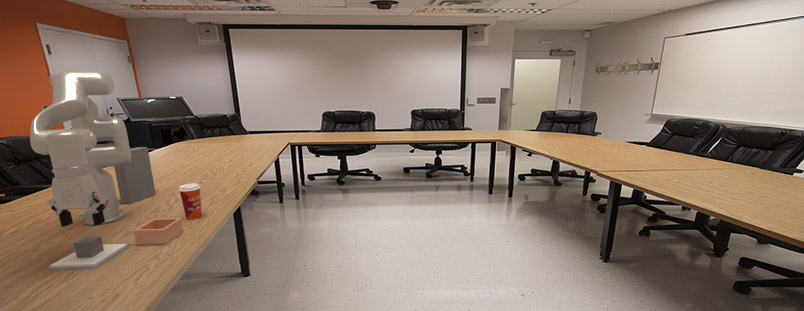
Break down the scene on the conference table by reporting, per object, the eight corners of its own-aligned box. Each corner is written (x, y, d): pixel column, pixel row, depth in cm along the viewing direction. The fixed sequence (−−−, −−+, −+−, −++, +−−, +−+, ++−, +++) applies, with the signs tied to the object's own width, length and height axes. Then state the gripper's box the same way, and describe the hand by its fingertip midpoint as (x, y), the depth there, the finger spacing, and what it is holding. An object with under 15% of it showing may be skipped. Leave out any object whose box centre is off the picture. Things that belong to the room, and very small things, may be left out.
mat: (39, 272, 96) (39, 270, 96) (87, 246, 112) (87, 245, 112) (96, 270, 97) (95, 268, 97) (135, 245, 113) (135, 243, 113)
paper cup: (194, 221, 133) (189, 188, 130) (178, 219, 134) (173, 187, 132) (208, 214, 140) (204, 183, 138) (193, 212, 142) (189, 182, 139)
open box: (136, 246, 112) (133, 230, 111) (156, 233, 122) (153, 218, 120) (166, 245, 112) (163, 229, 111) (183, 232, 122) (181, 218, 121)
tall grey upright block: (145, 194, 168) (137, 147, 162) (156, 194, 167) (148, 147, 162) (119, 203, 154) (109, 152, 149) (130, 204, 153) (121, 152, 148)
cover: (49, 268, 98) (45, 250, 96) (87, 247, 110) (84, 231, 109) (94, 266, 98) (91, 248, 97) (127, 245, 111) (124, 230, 110)
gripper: (28, 175, 94) (42, 230, 97) (91, 173, 95) (102, 228, 98) (54, 169, 101) (66, 221, 105) (111, 168, 102) (121, 218, 106)
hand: (83, 224), depth 101 cm, fingers open, 9 cm apart
